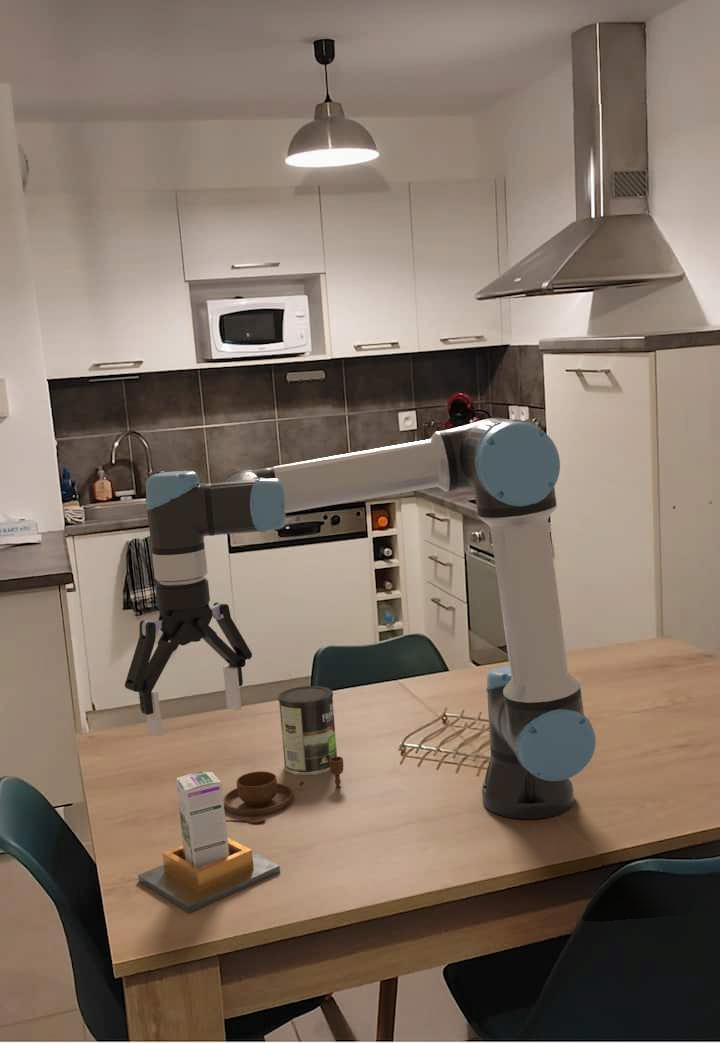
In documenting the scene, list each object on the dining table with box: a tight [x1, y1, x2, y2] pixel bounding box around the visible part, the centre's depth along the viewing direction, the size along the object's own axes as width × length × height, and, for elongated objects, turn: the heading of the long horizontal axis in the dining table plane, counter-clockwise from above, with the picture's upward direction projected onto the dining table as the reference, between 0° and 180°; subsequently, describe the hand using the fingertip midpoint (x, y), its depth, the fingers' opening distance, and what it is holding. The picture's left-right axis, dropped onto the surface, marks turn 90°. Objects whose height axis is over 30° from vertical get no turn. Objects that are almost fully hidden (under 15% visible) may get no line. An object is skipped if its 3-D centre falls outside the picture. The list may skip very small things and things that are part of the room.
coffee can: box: [277, 685, 338, 776], centre depth 200 cm, size 10×10×14 cm
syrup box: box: [175, 769, 229, 869], centre depth 158 cm, size 6×6×14 cm
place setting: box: [223, 756, 344, 824], centre depth 185 cm, size 18×20×6 cm
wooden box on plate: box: [137, 836, 281, 914], centre depth 159 cm, size 14×16×4 cm
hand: (196, 721), depth 156 cm, fingers open, 13 cm apart
